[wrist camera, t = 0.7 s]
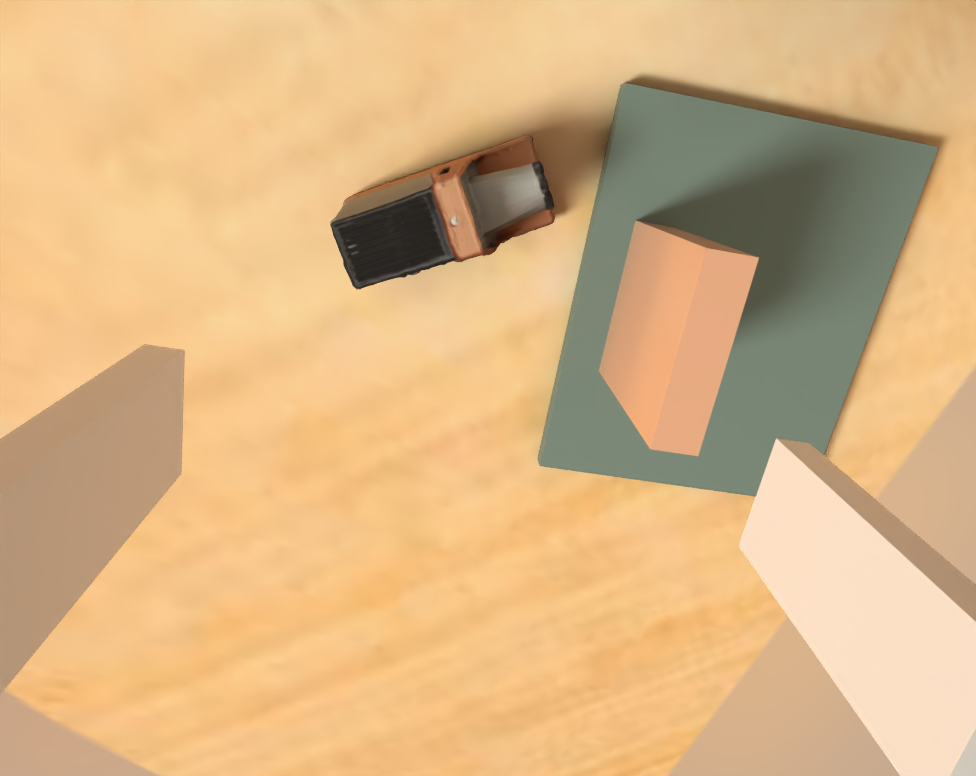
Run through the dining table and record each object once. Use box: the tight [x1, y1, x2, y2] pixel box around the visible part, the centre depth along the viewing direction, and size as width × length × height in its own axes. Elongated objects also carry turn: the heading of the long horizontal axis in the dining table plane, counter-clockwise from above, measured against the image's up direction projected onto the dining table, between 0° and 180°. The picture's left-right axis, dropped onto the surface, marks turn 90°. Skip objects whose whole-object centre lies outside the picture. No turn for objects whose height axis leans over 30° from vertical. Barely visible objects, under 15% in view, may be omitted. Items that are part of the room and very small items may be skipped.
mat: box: [538, 83, 939, 496], centre depth 36 cm, size 20×16×1 cm
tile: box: [599, 220, 759, 456], centre depth 30 cm, size 8×2×10 cm, turn 170°
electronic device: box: [330, 135, 555, 289], centre depth 31 cm, size 4×10×8 cm, turn 108°
